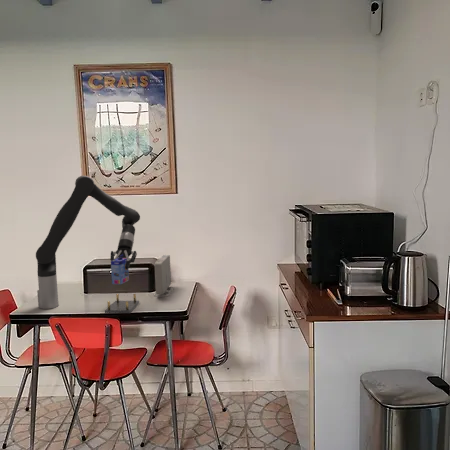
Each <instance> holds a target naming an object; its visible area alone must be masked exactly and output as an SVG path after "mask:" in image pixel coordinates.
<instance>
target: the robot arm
mask: <svg viewBox="0 0 450 450" xmlns="http://www.w3.org/2000/svg"><path fill="white" fill-rule="evenodd" d="M74 185H75V186H74V189H73V191H72V193H71V194H70V196H69V198H68V200H67V201H66V202H65V203H64V204H63V206H62V207H60V209H59V211H58V213H57V214H56V217H55V218H54V220H53V223H52V224H51V226H50V229H49V232H48V234H47V236H46V238H45V239H44V241H43V242H42V243H41V245H40V246H39V247H38V248H37V250H36V252H35V259H36V262H37V270H36V271H37V281H38V289H37V291H36V292H37V304H38V305H37V306H38V309H42V310H43V309H44V310H48V309H54V308H57V307H59V304H60V303H59V292H58V278H57V260H56V259H57V258H56V253H57V251H58V248H59V246H60V244H61V243H62V241H63V239H65V237H66V236H67V234H68V233H69V231H70V230H71V229H72V226H73V225H74V223H75V221H76V219H77V217H78V216H79V213H80V212H81V209H82V207H83V205H84V203H85V202H86V199H87V198H88V197H89V196H90V197H91V198H93V199H94V200H96V201H97V202H98V203H100V204H101V205H102V206H103V207H105V208H106V209H107V210H108V211H109V212H111V213H112V214H114V215H115V216H117V217H120V216H123V217H122V220H121V226H122V229H121V233H120V237H119V240H118V245H117V248H116V249H117V250H115V251H113V250H111V251H110V258H109V259H110V262H111V261H112V260H115V259H117V258H119V257H120V255H123V257H122V256H121V257H122V258H127V262H126V269H128V270H129V268H130V266H131V263H132V264H133V263H135V260H136V258H137V255H138V253H137V251H136V250H134V251H133V247H134V242H135V241H134V240H135V234H136V227H135V226H134V225H135V224H137V223H138V222H139V221H140V220H141V216H140V213H139V212H138V211H137V210H136V209H133V208H132V207H129V206H127V205H124V204H123V203H121V202H120V201H119V200H118V199H116V198H115V197H113V196H112V195H110V194H108V193H106V191H104V190H102V189H101V188H100V187H99V186H97V184H95V182H94V180H93V178H92V177H90V176H88V175H80V176H78V177H76V179H75V181H74ZM131 255H132V256H131ZM130 256H131V258H130Z"/></svg>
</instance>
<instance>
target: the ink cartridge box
mask: <svg viewBox="0 0 450 450" xmlns="http://www.w3.org/2000/svg"><path fill="white" fill-rule="evenodd" d="M121 256H122V257H123V255H120V257H119V258H117V259H115V258H114V259H115V260H112V261H111V260H110V272H111V285H122V284H125V283H126V282H128V281H130V277H129V270H130V269H129V268H128V269H126V262H127V258H122V257H121Z"/></svg>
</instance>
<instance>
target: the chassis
mask: <svg viewBox="0 0 450 450" xmlns="http://www.w3.org/2000/svg"><path fill="white" fill-rule="evenodd" d="M115 296H116V297H115V298H116V300H114V301H113V302H112V303H111V301H110V300H109V301H107V308H106V309H104V314H131V313H132V312H133V311H132V310H135V309H136V308H137V306H139V304H140V301H139V300H137V294H136V293H133V300H120V297H119V296H120V295H119V293H117V294H116V295H115Z"/></svg>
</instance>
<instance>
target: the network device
mask: <svg viewBox="0 0 450 450" xmlns="http://www.w3.org/2000/svg"><path fill="white" fill-rule="evenodd" d="M171 273H172V272H171V255H169V254H168V255H166V254H165V255H164V254H163V255H162V256H161V257H160V258H158V260H156V261H155V262H154V280H155V292H154V293H153V297H158V298H159V297H161V298H163V297H169V296H170V294H171V293H172V291H173V290H174V287H172V286H171V284H172V276H171Z"/></svg>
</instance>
